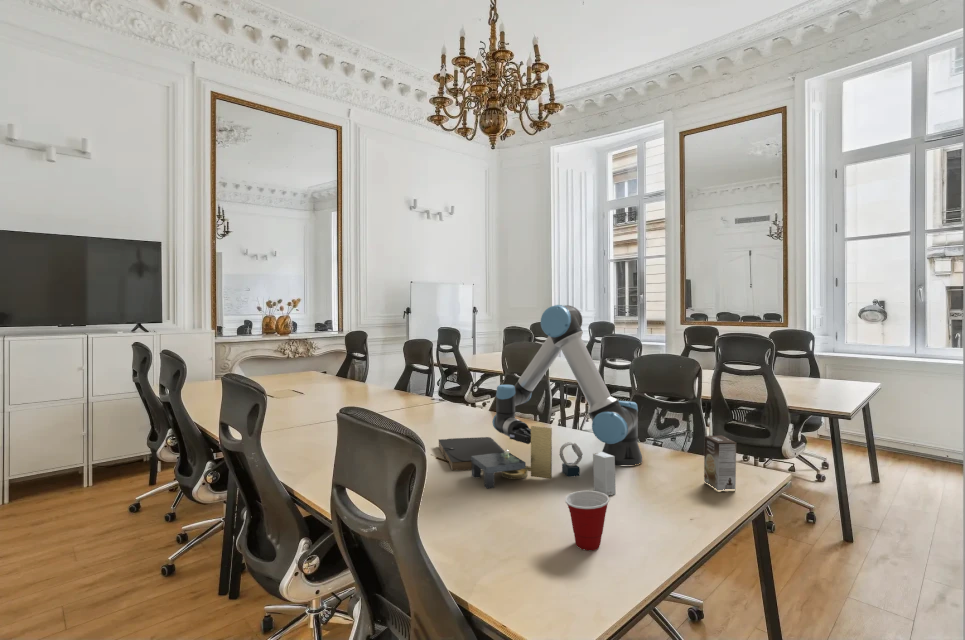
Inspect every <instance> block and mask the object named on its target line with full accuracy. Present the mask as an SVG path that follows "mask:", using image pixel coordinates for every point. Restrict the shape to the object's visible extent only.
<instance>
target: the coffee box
mask: <svg viewBox="0 0 965 640" xmlns="http://www.w3.org/2000/svg"><path fill="white" fill-rule="evenodd" d="M703 453H704V462H703V464H704V465H703V467H704V468H703V469H704V471H703V473H704V474H703V477H704V478H703V480H704V481H705V482H706V483H708V484H710V485H711V486H713V487H714V488H716V489H717V490H723V489H724V490H725V489H735V490H736V480H737V478H736V477H737V476H736V475H737V473H736V471H737V442H736V441H734V440H732V439H731V438H729V437H726V436H724V435H722V434H721V435H704V451H703ZM704 481H703V482H704Z"/></svg>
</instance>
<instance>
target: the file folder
mask: <svg viewBox="0 0 965 640" xmlns="http://www.w3.org/2000/svg"><path fill="white" fill-rule="evenodd" d="M438 448H439V450H440V451H441V454H442V453H443V454H442V456H444V455H445V456H446V457H445V456H444V460H445V459H447V460H448V461H449V462H448V461H447V460H446V461H447V462H448V463H449V465H450V468H451V471H453V472H454V471H465V470H467V471H468V469H469V470H472V462H471V456H476V455H484V454H493V453H501V452H504V451H505V450H504V448H502V447H501V445H499V444H498V442H496V441H495V440H494V438H492V437H489V436H481V437H462V438H461V437H460V438H459V437H458V438H456V437H455V438H454V437H453V438H447V439H446V438H445V439H444V438H443V439H438Z"/></svg>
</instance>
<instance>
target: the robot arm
mask: <svg viewBox="0 0 965 640" xmlns="http://www.w3.org/2000/svg"><path fill="white" fill-rule="evenodd" d="M582 325H583V316H582V313H581V312H580V311H579V309H578V308H577V307H575V306H573V305H563V304H555V305H552V306H549V307H546V309H545V310H544V311H543V313H542V314H541V317H540V327H541V330H542V331H543V333H544V334H545V335H546V336H547V338H546V339H545V341H544V342H543V343H542V345H541V346H540V348H539V349H538V351H537V352H536V353H535V354H534V357H533V358H532V359H531V361H530V362H529V364H528V365H527V367H526V369H524V371H523V372H522V374H521V376H520V377H519V378H518V380H517V382H516V383H515V385H513V384H499V385H497V386H496V394H495V399H496V400H495V401H496V402H495V403H496V404H495V407H496V410H495V411H496V413H495V415H494V417H493V418H492V427H493V428H494V429H495V430H496V431H497V432H499V433H501V434H502V435H503V434H504V435H505V436H507V437H509V440H514V441H516V442H520V443H523V444H526V445H531V427H529V425H528V424H527V423H526V422H525V421H522V420H520V419H518V418H516V407H517V406H519V405H522V404H525V403H527V402H529V401H530V400H531V398H532V394H533V392H534V390H535V388H537V385H538V384H539V382H540V381H542V379H543V377H544V376H545V374H546V373H547V371H548V370H549V368H550V367H551V366H552V365H553V363H554V361H556V359H557V357H558V356H559V355H560V353H561V352H562V354H563V355H564V358H565V359H566V362H567V364H568V366H569V368H570V370H571V372H572V374H573V377H574V378H575V380H576V382H577V383H578V386H579V388H580V390H581V392H582V394H583V395H584V398H585V400H586V402H587V404H588V407H589V408H588V412H587V413H588V416H589V417H590V419H591V429H592V432H593V434H594V436H595V438H596V439H598V440H599V441H600V442H602V443H604V444H603V448H602V450H601V452H604V453H607V454H610V455H612V456H615V466H616V465H635V464H639V463H641V462H642V463H643V455H642V451H641V448H640V446H639V443H638V442H639V441H638V428H639V427H638V423H639V421H638V420H639V419H638V418H639V417H638V414H639V413H638V412H639V409H638V404H637V403H636V402H635V401H629V400H628V401H626V400H619V399H618V398H615V397H614V396H611V393H610V391H609V390H608V387H607V385H606V383H605V381H604V378H602V375H601V374H600V371H599V370H598V368H597V365H596V364H595V362H594V360H593V358H592V356H591V354H590V352H589V350H588V348H587V346H586V344H585V342H584V340H583V338H582V335H583V330H582ZM642 463H641V464H642Z"/></svg>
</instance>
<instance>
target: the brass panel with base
mask: <svg viewBox="0 0 965 640" xmlns="http://www.w3.org/2000/svg"><path fill="white" fill-rule="evenodd" d="M530 429H531V443H530V466H529V465H526V468H525V469H517V470H510V471H502V472H501V476H502V477H503V478H505V479H509V480H521V479H526V478H527V477H528V472H530V477H533V478H542V479H547V480H551V479H552V478H553V476H552V469H553V468H552V467H553V466H552V464H553V462H552V461H553V459H552V455H553V454H552V453H553V452H552V451H553V450H552V449H553V448H552V447H553V446H552V445H553V444H552V439H553V437H552V435H553V431H552V430H553V429H552V427H545V426H537V425H536V426H530Z"/></svg>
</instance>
